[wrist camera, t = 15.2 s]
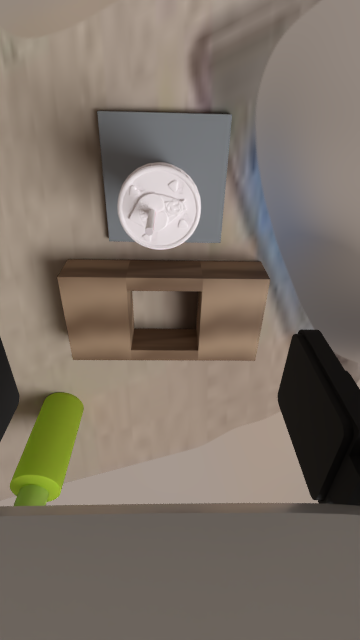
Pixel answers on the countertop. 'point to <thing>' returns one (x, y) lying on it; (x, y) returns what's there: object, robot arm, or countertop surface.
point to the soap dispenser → (47, 451)
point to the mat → (167, 159)
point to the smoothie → (159, 206)
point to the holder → (159, 275)
